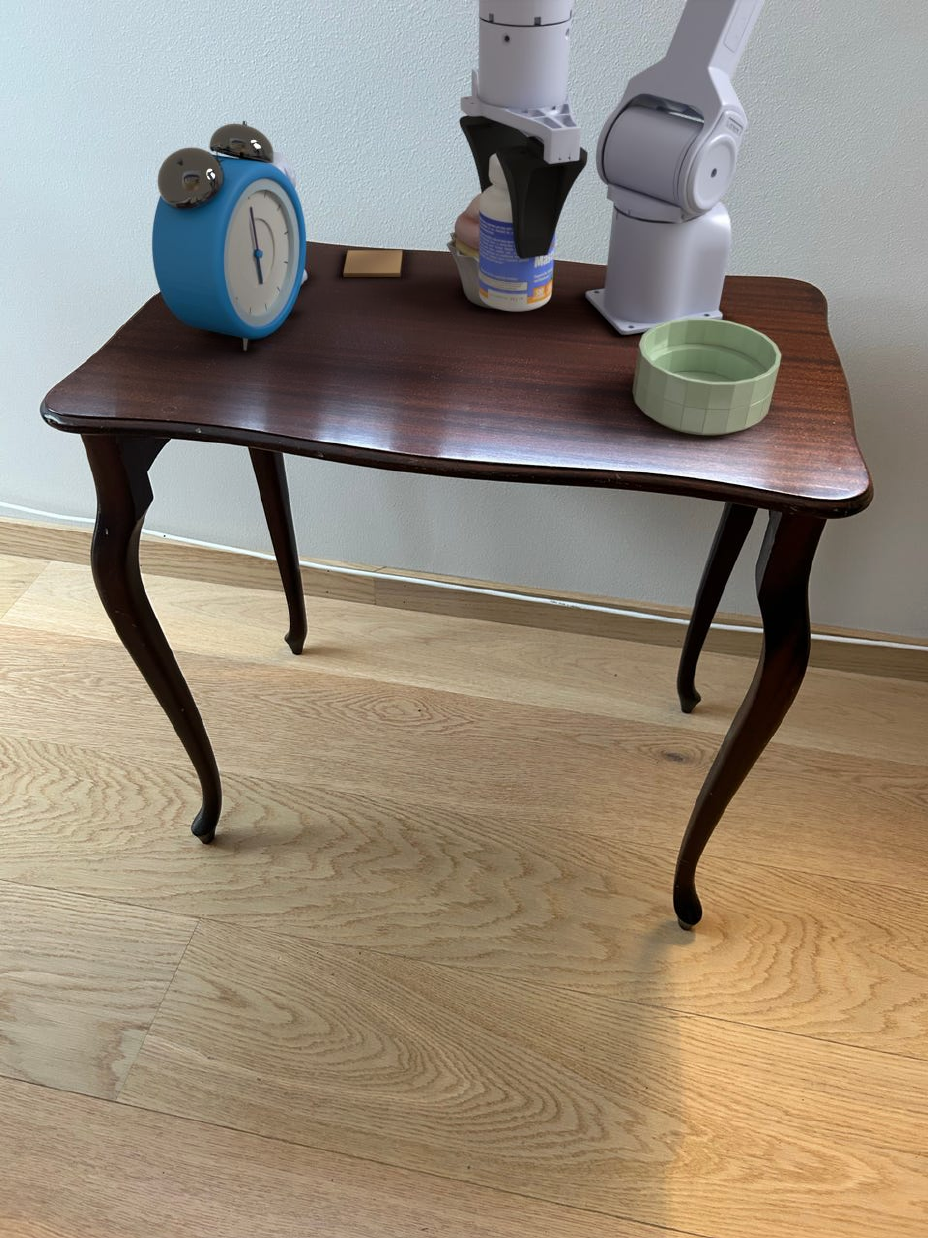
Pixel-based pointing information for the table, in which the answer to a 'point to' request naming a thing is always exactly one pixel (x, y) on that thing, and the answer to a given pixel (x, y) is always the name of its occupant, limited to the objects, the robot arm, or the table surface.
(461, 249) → the cupcake
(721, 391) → the bowl
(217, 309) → the alarm clock
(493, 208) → the pill bottle
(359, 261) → the coaster
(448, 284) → the table surface
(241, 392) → the table surface
